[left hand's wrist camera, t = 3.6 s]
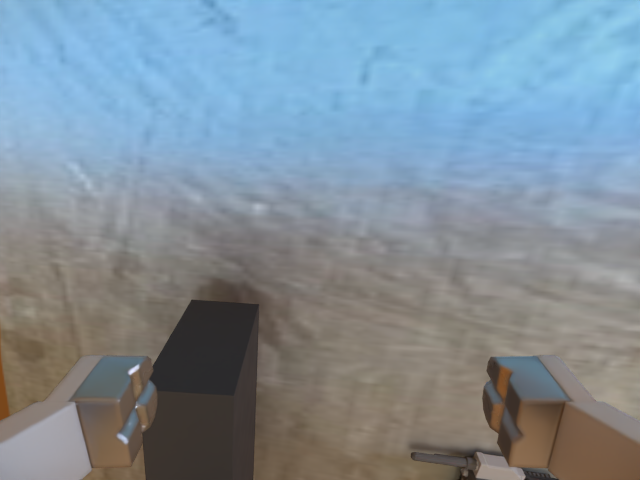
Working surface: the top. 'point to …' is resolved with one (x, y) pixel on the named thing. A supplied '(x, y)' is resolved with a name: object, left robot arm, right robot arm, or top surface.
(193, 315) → the box
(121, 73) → the top surface
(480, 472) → the walkie-talkie
